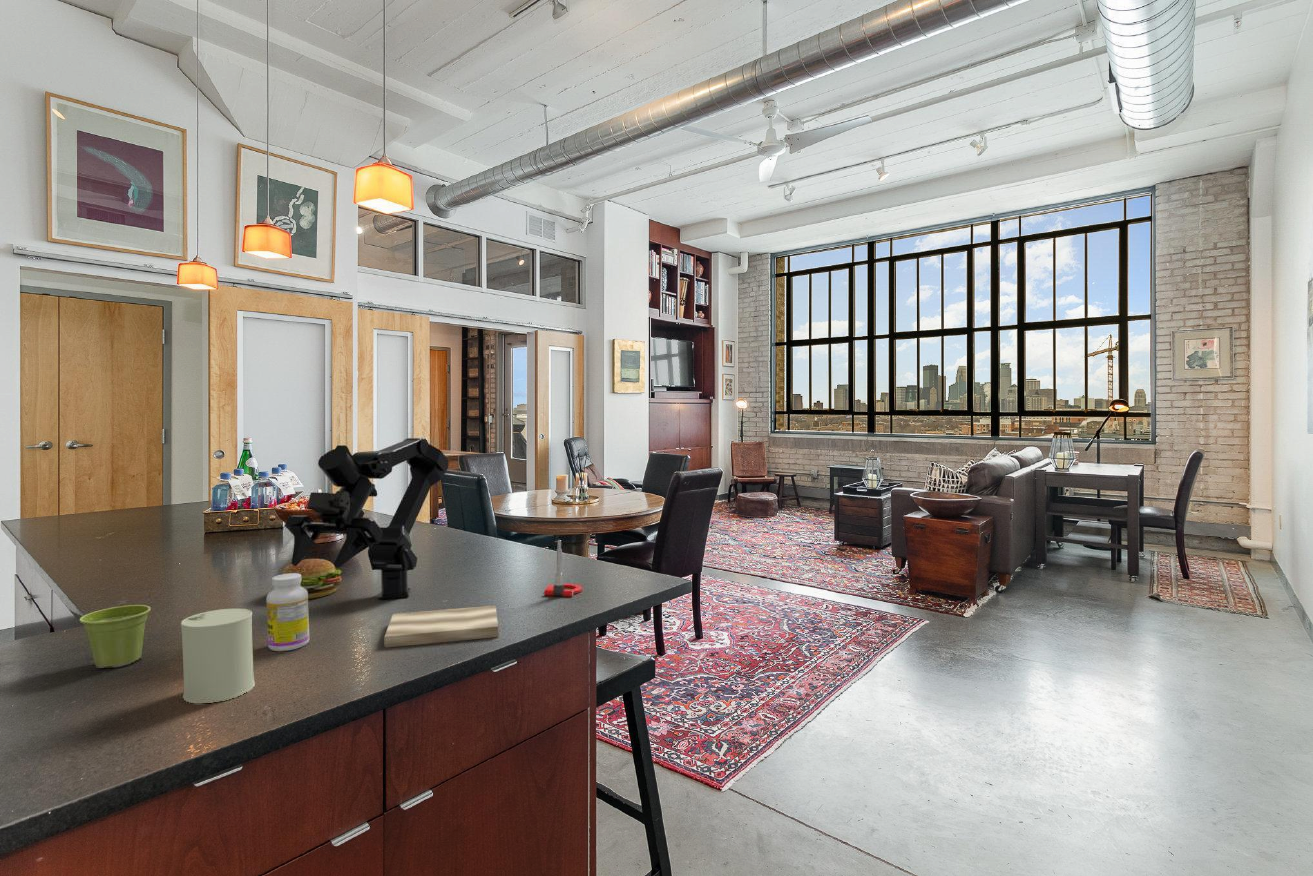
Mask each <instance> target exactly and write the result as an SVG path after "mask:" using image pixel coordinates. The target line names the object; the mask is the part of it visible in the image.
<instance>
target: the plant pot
mask: <svg viewBox="0 0 1313 876" xmlns="http://www.w3.org/2000/svg"><path fill="white" fill-rule="evenodd" d="M151 610H152V609H151V606H149V605H145V604H134V605H133V604H130V605H122V606H121V605H120V606H115V607H108V608H103V609H100V610H96V611H92V612H90V613H87V614H85V615H83V616H81V617H80V618H79V623H81V624H83V627H84V630H85V631H86V632H87V638H88V641H89V645H90V649H91V653H92V657H93V661H94V665H98V666H113V665H120V664H124V663H129V662H133V661H135V660H137V661H138V660H140V659H139V658H140V657H141V658H142V654H143V644H144V635H145V627H146V621H147V620H148V615H149V613H150V612H151Z"/></svg>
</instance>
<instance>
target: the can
mask: <svg viewBox="0 0 1313 876" xmlns="http://www.w3.org/2000/svg"><path fill="white" fill-rule="evenodd" d="M252 618H253V611H252V610H249V609H246V608H224V609H223V608H221V609H214V610H209V611H204V612H200V613H196V614H193V615H191V616H188V617H186V618H184V619H183V620H181V622H180V627H181V639H182V642H181V643H182V644H181V645H182V661H183V662H182V665H183V667H182V668H183V696H182V699H183V698H184V700H186V701H188V702H191V703H212V704H214V703H213V702H218V703H220V702H219V701H223V702H226V701H225V700H227V701H229V699H230V700H233V699H232V698H234V699H236V698H238V696H239V697H241V696H244V695H245V694H244V693H246V692H247V693H249V692H251V690H253V689H254V688H255V686H256V683H255V678H254V677H255V676H254V655H253V654H254V652H253V624H252V623H253V619H252ZM253 687H254V688H253ZM247 693H246V694H247ZM243 694H244V695H243ZM240 695H241V696H240ZM184 700H183V701H184Z"/></svg>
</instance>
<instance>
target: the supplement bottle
mask: <svg viewBox="0 0 1313 876" xmlns="http://www.w3.org/2000/svg"><path fill="white" fill-rule="evenodd" d="M273 576H274V575H273ZM273 576H272V578H271V585H272V587H273V590H271V591H270V592H269V593H267V596H266V600H265V601H266V628H267V633H266V634H267V647H268V649H269V650H271V651H274V652H288V651H292V650H297V649H300V648H303V647H304V646H306V645H307V644H308V643H309V642H310V624H309V623H310V621H309V620H310V619H309V617H310V616H309V599H308V592H307V590H306V589H305V588H303V587H301V586H300V583H301V581H302V580H301V574H298V573H289V574H283V573H282V575H280V574H278V575H275V576H274V577H273Z"/></svg>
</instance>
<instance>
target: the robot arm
mask: <svg viewBox="0 0 1313 876" xmlns="http://www.w3.org/2000/svg"><path fill="white" fill-rule="evenodd" d="M404 462H406V463H407V465H408V466H409V471H410V475H411V479H410V481H409V484H408V486H407V487H406V489H405V492H404V494H403V496H402V498H401V501H400V502H399V504H398V506H397V508H396V511H395V513H394V514H393V517H392V518H391V521H390V523H389V525H388V526H386V527H381V526H379V525H378V523H377V522H376V520H375V519H374V518H373V517H364V515H365V514H366V513H365V512H364V510H363V508H364V506H365V504H366V502H367V501H368V499H369V497H377V496H378V490H377V489H376V484H375V483H372V481H371V479H373V480H375V479H376V480H377V479H378V480H382V479H384V478H386V477H387V476H389V475H390V474H391V473H392V472H393V467H395V466H397V465H400V464H402V463H404ZM449 464H450V462H449V459H448V457H447V456H446V455H445V454H444V453H443V451H442V450H441V449H440V448H437V447H435V446H433V445H432V444H430V443H429V441H428V440H426V439H424V438H423V437H421V438H420V437H418V438H417V437H414V438H413V437H408V438H405V439H404V440H402V441H400V442H397V443H395V444H392V445H390V446H387V447H385V448H382V449H379V450H374V451H373V450H372V451H370V450H368V451H367V450H366V451H359V452H355V453H353V454H352V453H351V451H350V449H349V448H348V446H347V445H346V444H344V445H343V444H342V445H341V444H340V445H339V444H338V445H336V447H335V448H334V449H331V450H328V451H327V452H326V453H324V454H323V455H321V456H320V457H319V460H318V462H317V465H318V467H319V468H320V470H321V471H322V472H323V474H324V475H325V476H326V477H327V479H328V480H329V482H330V483H331V484H332V485H333V486H334V487H336V488H337V487H338V488H339V490H337V491H336V492H335V493H333V492H332V493H331V492H316V491H315V492H314V491H313V492H310V493H309V496H308V497H309V498H308V501H307V504H306V509H307V510H311V511H314V512H315V513H316V517H317V518H318V519H319V520H321V522H317V521H316V522H315V521H314V520H313V519H312V518H311V516H310V515H299V514H298V515H296V514H295V515H291V516H289V517H288V518H287V520H286V522H285V523H284V527H285V528H286V529H287V530H288V531H289V532H290V533H291V534H292V535H293V540H294V541H293V548H292V549H293V551H292V558H291V564H293V565H294V566H297V565H298V564H299V563H300V562H301V561H302V560H304V559H305V557H306V556H307V555H308V554H309V552H310V551H311V550H312V549H313V547H314V546H315V545H316V544H317V542H315V541H316V540H317V539H318V538H319V537H320V535H321V534H334V535H346V536H345V540H344V543H343V544H342V546H341V548H340V550H339V552H338V554H337V556H336V559H335V561H334V563H333V564H334V566H335V568H336V569H339V568H340V567H341V566H343V565H344V564H346V563H347V562H348V561H350V560H351V559H352V558H354V557H356V556H357V555H358V554H360V553H361V552H363V551H364V550H366V549H367V548H368V549H367V556H368V560H369V564H370V567H371V570H372V571H380V582H381V584H380V585H381V587H380V588H381V590H380V592H379V594H378V596H377V597H378V598H377V599H378V600H388V599H389V600H390V599H399V598H409V596H410V593H411V590H412V588H411V587H409V583H408V581H409V580H408V578H409V577H408V576H409V575H408V571H413V570H414V569H415V568H416V567H417V563H418V557H417V555H416V554H415V553H414V551H413V550H412V546H413V545H412V541H411V540H412V539H411V536H410V534H411V532H412V529H413V528H414V525H415V522H416V520H417V518H418V516H419V513H420V512H421V510H422V508H423V505H424V504H425V503H424V502H425V501H426V498H427V496H428V494H429V492H430V490H431V488H432V487H433V486H434V485H436V484H437V483H439V482H441V480H442V479H443V478H444V476H445V474H446V473H447V471H448V470H449V466H450V465H449Z"/></svg>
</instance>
